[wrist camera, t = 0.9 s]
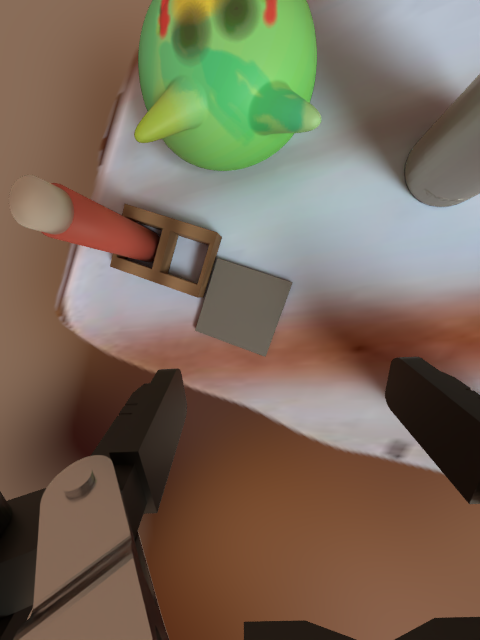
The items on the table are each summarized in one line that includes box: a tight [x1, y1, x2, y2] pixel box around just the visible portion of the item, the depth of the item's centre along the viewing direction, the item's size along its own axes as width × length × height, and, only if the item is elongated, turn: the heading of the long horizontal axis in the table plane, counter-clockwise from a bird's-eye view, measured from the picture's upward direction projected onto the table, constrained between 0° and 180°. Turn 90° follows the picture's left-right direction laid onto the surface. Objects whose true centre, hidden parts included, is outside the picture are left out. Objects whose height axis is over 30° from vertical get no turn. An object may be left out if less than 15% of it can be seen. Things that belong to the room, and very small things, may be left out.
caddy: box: [110, 204, 222, 297], centre depth 33 cm, size 14×9×2 cm, turn 72°
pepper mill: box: [9, 175, 160, 262], centre depth 27 cm, size 5×5×17 cm
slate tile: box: [195, 258, 292, 357], centre depth 33 cm, size 11×11×1 cm
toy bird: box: [134, 0, 321, 171], centre depth 24 cm, size 18×17×15 cm
